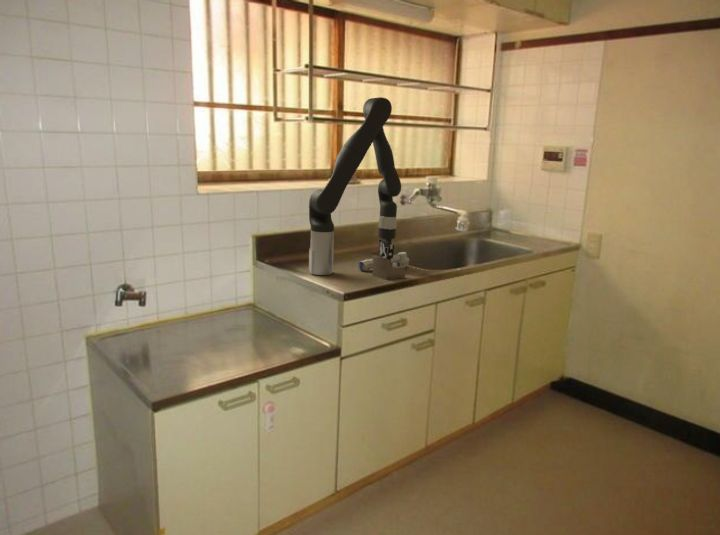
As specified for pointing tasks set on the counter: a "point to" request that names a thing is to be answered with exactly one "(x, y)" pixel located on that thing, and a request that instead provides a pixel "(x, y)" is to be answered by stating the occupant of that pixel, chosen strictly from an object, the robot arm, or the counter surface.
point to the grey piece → (398, 258)
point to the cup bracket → (386, 269)
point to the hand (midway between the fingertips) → (385, 265)
